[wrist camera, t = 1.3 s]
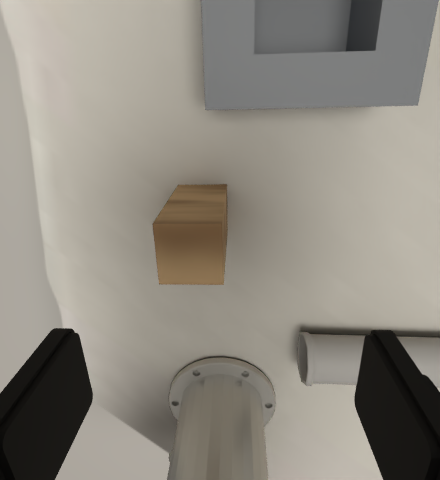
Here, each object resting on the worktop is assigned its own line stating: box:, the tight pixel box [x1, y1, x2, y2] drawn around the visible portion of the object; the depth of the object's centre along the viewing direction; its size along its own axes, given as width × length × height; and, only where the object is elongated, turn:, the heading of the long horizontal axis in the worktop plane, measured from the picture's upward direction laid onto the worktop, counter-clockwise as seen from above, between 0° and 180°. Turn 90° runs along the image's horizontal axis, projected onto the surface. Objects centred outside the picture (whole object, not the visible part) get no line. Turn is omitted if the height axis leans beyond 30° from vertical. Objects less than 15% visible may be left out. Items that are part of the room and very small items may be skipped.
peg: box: [153, 184, 228, 285], centre depth 26 cm, size 4×4×10 cm
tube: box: [297, 332, 440, 387], centre depth 34 cm, size 5×5×25 cm
